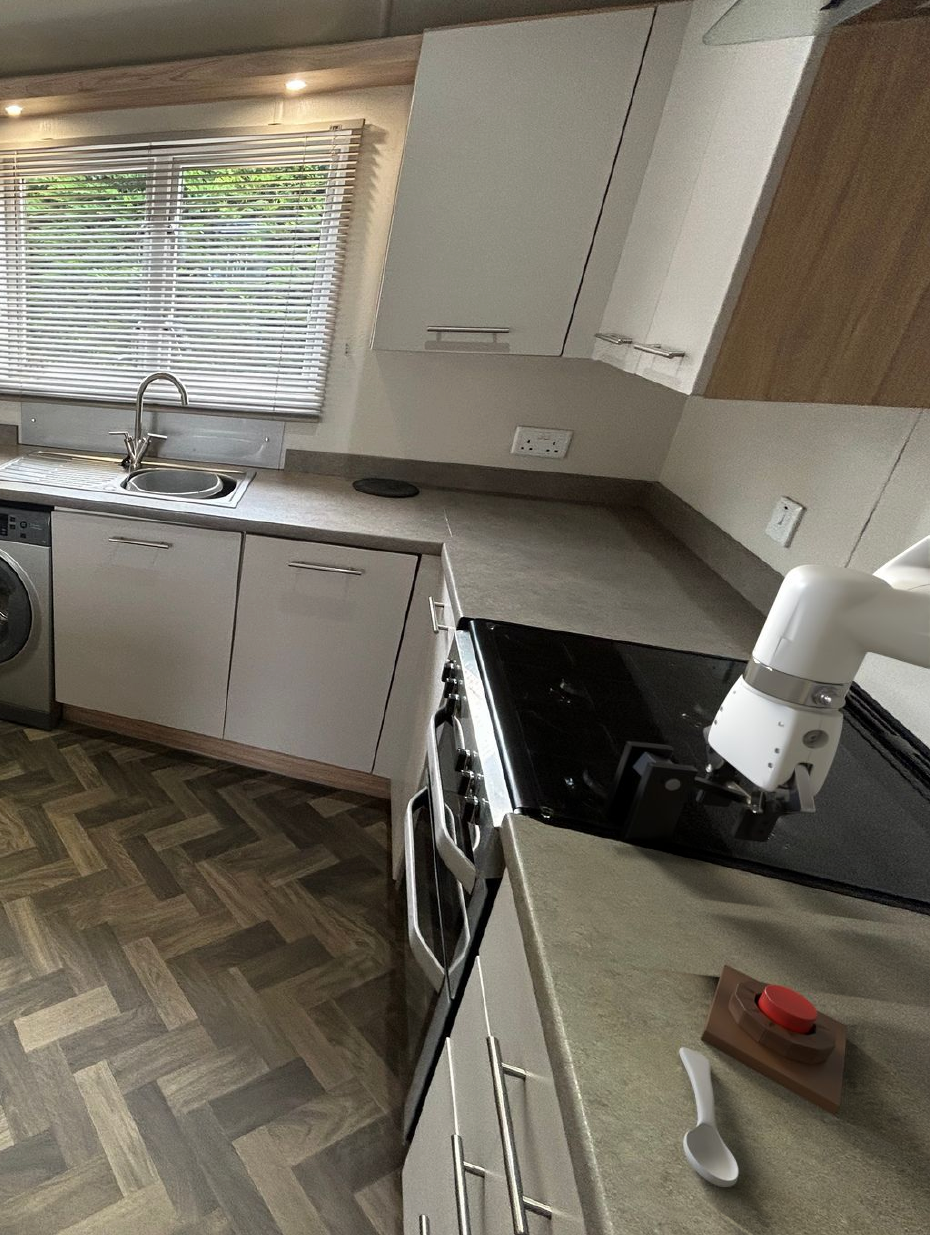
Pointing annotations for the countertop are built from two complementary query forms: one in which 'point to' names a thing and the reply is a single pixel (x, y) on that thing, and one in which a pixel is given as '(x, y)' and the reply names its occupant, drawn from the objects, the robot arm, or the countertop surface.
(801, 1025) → the power button
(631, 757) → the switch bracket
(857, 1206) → the countertop surface
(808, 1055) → the control block
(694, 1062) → the spoon
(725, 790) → the switch lever
